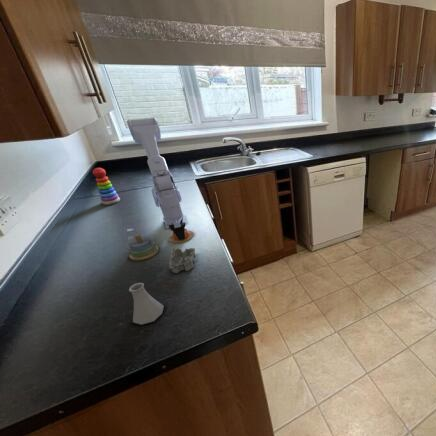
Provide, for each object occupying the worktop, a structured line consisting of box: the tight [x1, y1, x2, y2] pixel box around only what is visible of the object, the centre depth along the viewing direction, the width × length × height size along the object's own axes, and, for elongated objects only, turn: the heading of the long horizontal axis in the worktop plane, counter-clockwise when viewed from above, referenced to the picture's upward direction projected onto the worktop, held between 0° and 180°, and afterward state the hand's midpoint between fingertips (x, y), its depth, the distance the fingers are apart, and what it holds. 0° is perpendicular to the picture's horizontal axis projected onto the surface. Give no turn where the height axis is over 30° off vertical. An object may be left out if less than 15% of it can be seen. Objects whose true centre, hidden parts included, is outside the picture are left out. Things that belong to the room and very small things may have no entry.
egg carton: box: [168, 247, 196, 274], centre depth 93 cm, size 11×8×4 cm
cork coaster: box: [168, 230, 195, 244], centre depth 109 cm, size 9×9×1 cm
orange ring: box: [172, 228, 189, 240], centre depth 109 cm, size 5×5×2 cm
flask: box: [128, 282, 165, 326], centre depth 71 cm, size 7×7×10 cm
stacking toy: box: [92, 167, 121, 206], centre depth 138 cm, size 8×8×19 cm
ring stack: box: [128, 233, 160, 262], centre depth 98 cm, size 9×9×8 cm
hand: (181, 235), depth 109 cm, fingers open, 6 cm apart
